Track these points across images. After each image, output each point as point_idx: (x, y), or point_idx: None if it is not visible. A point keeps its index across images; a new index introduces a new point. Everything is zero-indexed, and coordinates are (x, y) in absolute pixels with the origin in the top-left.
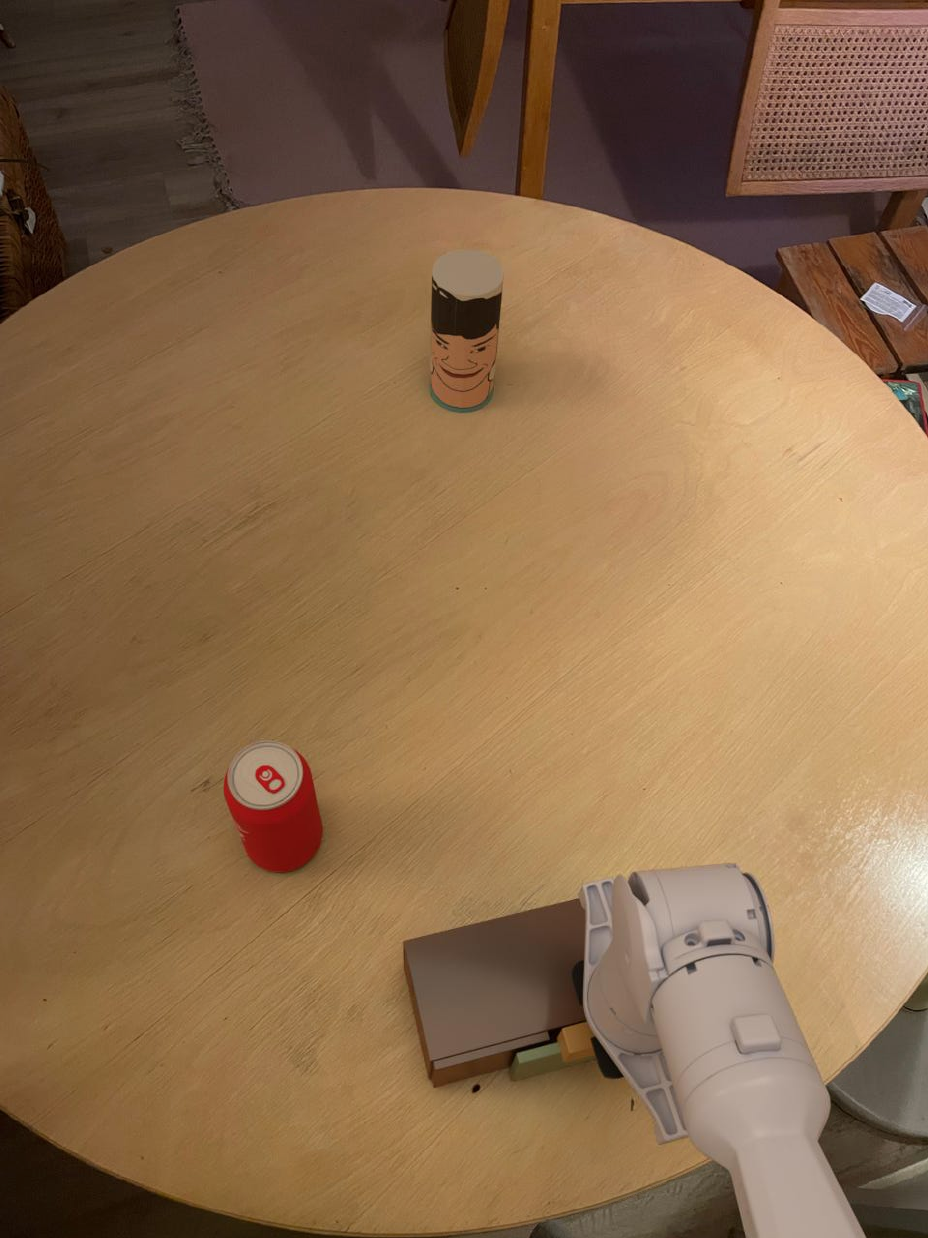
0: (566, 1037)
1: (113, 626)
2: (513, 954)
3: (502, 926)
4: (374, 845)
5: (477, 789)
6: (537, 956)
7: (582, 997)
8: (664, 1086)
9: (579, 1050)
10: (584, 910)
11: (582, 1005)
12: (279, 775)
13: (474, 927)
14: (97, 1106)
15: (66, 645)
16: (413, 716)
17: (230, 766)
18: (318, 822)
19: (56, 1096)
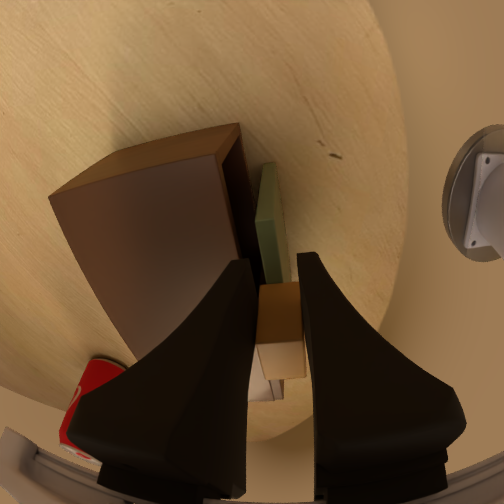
0: (279, 377)
1: (50, 391)
2: (160, 337)
3: (131, 339)
4: (100, 332)
5: (38, 261)
6: (158, 317)
7: (232, 497)
8: None
9: (303, 368)
10: (87, 253)
11: (245, 482)
12: (78, 453)
13: (139, 359)
14: (266, 430)
15: (66, 404)
16: (16, 292)
17: (86, 460)
18: (96, 386)
19: (260, 436)
